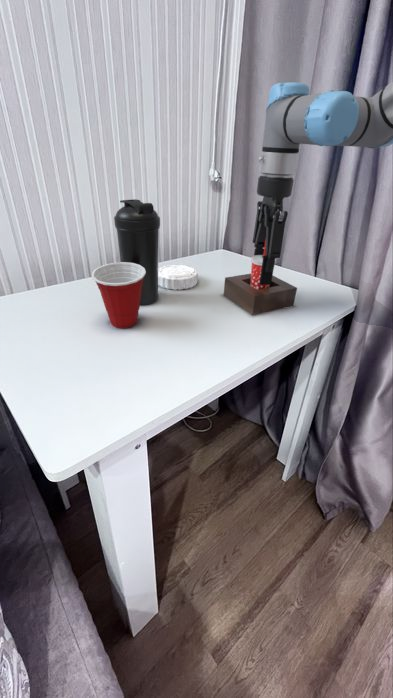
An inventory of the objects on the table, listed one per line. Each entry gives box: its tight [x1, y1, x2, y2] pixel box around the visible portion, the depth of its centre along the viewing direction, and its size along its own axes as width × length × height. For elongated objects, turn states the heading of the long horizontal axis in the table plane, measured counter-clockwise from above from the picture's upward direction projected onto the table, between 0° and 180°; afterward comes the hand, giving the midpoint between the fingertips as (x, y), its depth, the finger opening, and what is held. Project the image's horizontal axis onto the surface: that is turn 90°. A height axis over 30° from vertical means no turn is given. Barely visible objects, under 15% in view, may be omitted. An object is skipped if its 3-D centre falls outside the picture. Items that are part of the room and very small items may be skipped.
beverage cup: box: [250, 241, 277, 290], centre depth 82 cm, size 6×6×14 cm
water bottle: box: [113, 198, 161, 306], centre depth 79 cm, size 10×10×23 cm
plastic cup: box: [91, 261, 146, 329], centre depth 70 cm, size 11×11×12 cm
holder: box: [223, 273, 298, 316], centre depth 85 cm, size 13×13×5 cm
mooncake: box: [158, 264, 199, 291], centre depth 94 cm, size 12×12×4 cm
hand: (260, 278), depth 83 cm, fingers closed on beverage cup, 6 cm apart
